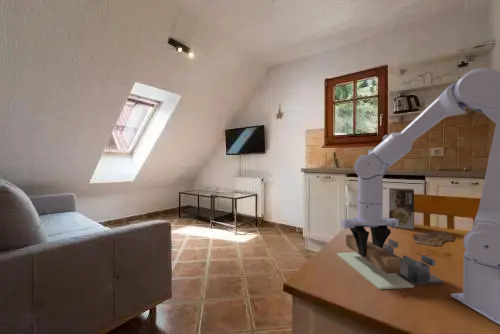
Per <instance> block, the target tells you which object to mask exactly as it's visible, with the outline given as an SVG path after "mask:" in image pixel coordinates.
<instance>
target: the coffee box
mask: <svg viewBox="0 0 500 334" xmlns="http://www.w3.org/2000/svg"><path fill="white" fill-rule="evenodd" d="M388 218H395V219H398V220H399V227H398V229H405V230H408V229H409V230H415V190H414V189H413V188H396V187H395V188H393V187H389V189H388Z"/></svg>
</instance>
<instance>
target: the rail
mask: <svg viewBox="0 0 500 334" xmlns="http://www.w3.org/2000/svg"><path fill="white" fill-rule="evenodd" d="M345 246H346V247H347V248H349V249H350V250H352V251H353V252H356V253H358V254H359V251H358V247H357V243H356V240H355V238H354V235H353V234H345ZM359 255H360V254H359ZM395 255H396V254H395ZM395 255H393V254H391V253H389V252H387V251H386V250H384V249H382V248H380V247H378V246H377V245H375V244H373V243H372V241H369V240H367V253H366V257H363V256H362V257H363V258H365V259H366V260H368V261H369V262H370V263H372V264H373V265H375V266H376V267H378V268H379V269H381V270H382V271H383V272H385V273H386V274H391V273H395V274H397V273H400V258H401V257H400V258H398V257H396V256H395ZM360 256H361V255H360Z"/></svg>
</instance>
